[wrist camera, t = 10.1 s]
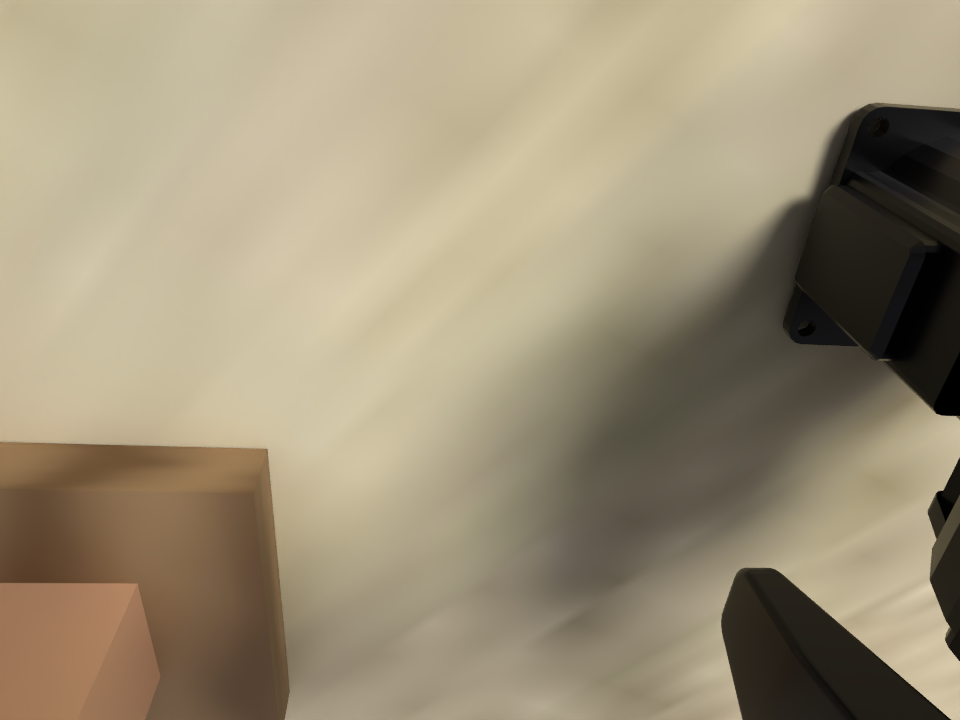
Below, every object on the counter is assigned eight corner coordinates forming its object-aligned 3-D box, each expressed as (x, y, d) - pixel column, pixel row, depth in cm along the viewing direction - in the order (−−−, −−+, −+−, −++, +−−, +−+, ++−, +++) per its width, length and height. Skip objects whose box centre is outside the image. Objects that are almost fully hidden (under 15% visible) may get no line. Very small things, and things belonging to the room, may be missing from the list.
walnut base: (267, 449, 22) (253, 493, 20) (289, 691, 28) (280, 741, 26) (-157, 438, 21) (-210, 484, 19) (-37, 693, 27) (-69, 745, 25)
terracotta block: (137, 583, 22) (66, 745, 17) (160, 676, 24) (102, 838, 20) (-20, 582, 21) (-133, 747, 17) (19, 677, 24) (-72, 843, 19)
